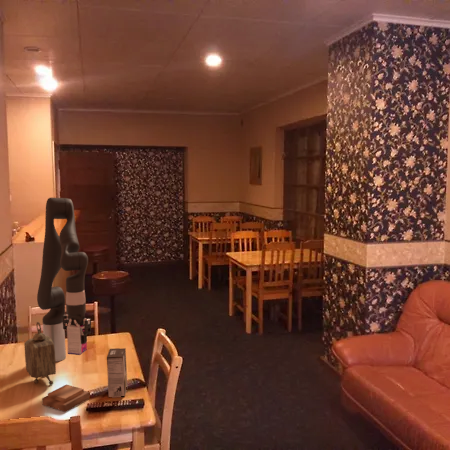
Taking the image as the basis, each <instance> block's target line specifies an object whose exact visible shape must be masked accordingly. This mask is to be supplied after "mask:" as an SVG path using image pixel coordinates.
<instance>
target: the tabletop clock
mask: <svg viewBox="0 0 450 450" xmlns="http://www.w3.org/2000/svg"><path fill="white" fill-rule="evenodd" d="M35 323H36V330H37V333H35V334H34V335H33V337H32V338H28V339H27V340H26V341H25V342H24V344H23V345H24V359H25V360H24V362H25V367H26V372H27V373H28V375H29V377H31V378H34V381H33V382H34V384H38V382H39V380H38V379H39V378H44V377H45V378H46V379H47V380H48V384H49V385H51V386H52V385H53V384H54V381H53V380H51V378H50V376H51V375H52V376H53V375H56V373H57V372H56V371H57V369H56V363H57V362H55V349H54V343H53V341H52V340H51V338H50V337H49V336H45V334H43V332H42V325H41V323H40V322H39V321H36V322H35Z"/></svg>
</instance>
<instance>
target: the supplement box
mask: <svg viewBox="0 0 450 450" xmlns="http://www.w3.org/2000/svg"><path fill="white" fill-rule="evenodd" d="M83 326H84V325H82V326H80V327H83ZM82 330H83V329H82ZM83 332H84V330H83ZM66 334H67V335H66V336H67V339H66V340H67V355H75V356H81V355H82V354H83V353H85V352H86V351H87V350H88V348H87V347H88V341H87V342H86V343H85V344H81V330H80V328H79V327H77V326H74V325H69V326H68V327H67V331H66Z"/></svg>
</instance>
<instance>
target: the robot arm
mask: <svg viewBox="0 0 450 450" xmlns="http://www.w3.org/2000/svg"><path fill="white" fill-rule="evenodd" d="M45 202H46V204H45V217H44V218H45V224H44V226H45V227H44V240H43V247H42V248H43V249H42V259H41V260H42V261H41V262H42V263H41V271H40V278H39V279H40V280H39V284H38V289H37V294H36V299H37V305H38V307H39V309H41V310H43V311H47V310H48V312H47V313H46V314H45V315H44V316H43V317H42V331H43V332H42V333H43V334H45V336H49V337H50V338H51V340H52V341H53V343H54V349H55V362H56V363H57V362H60V361H63V360H65V359H66V357H67V353H66V337H65V336H66V335H65V334H66V332H67V327H68V326H69V325H74V326H77V327H79V328H80V330H81V344H85V343H86V342H87V343H88V334H89V335H90V334H91V333H92V319H91V318H86V315H85V314H86V313H87V305H86V303H87V302H86V301H87V300H86V292H85V291H86V290H85V279H86V278H85V276H86V271H87V268H88V264H89V257H88V255H87V253H86V252H84V251H80V249H81V247H80V242H79V238H78V235H77V229H76V227H77V226H76V217H75V216H76V215H75V207H74V203H73V201H72V199H71V198H67V197H48V198H47V200H46V201H45ZM55 220H66V222H65V224H64V225H63V227H62V228H61V230H60V231H59V232H60V233H59V234H58V231H57V229H56V227H55ZM60 270H63V271H65V272H70V271H77V272H76V273H75V274H73V275H69V276H67V277H66V278H65V290H66V291H65V292H66V293H65V292H64V290H63V288H62V287H60V286H53V284H54V281H55V278H56V277H57V275H58V274H59V272H60ZM82 325H84V326H83V327H80V326H82ZM82 329H83V330H84V332H83V330H82ZM65 331H66V332H65Z"/></svg>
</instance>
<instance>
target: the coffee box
mask: <svg viewBox="0 0 450 450" xmlns="http://www.w3.org/2000/svg"><path fill="white" fill-rule="evenodd" d="M126 351H127V350H126V347H124V348H119V347H118V348H109V349H108V353H107V356H106V367H107V369H106V370H107V388H108V389H107V391H108V392H107V393H108V398H109V397H112V398H122V397H121V396H125V397H126V393H127V390H126V387H127V388H128V373H127V372H128V371H127V352H126Z"/></svg>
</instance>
